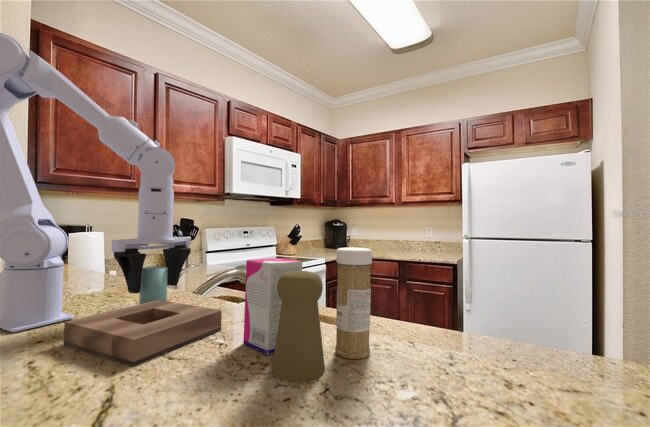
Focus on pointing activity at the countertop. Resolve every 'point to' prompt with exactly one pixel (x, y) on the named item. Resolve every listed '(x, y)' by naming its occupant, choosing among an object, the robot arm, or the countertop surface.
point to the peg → (153, 284)
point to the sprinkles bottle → (353, 302)
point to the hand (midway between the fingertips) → (154, 288)
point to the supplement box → (264, 301)
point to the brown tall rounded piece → (299, 328)
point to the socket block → (141, 330)
